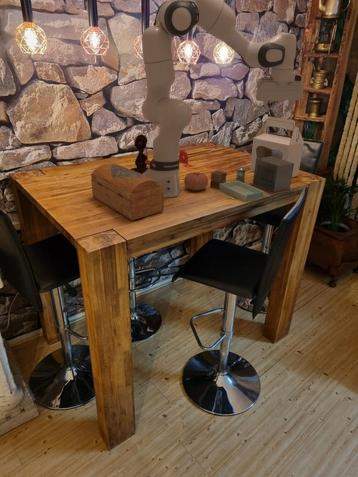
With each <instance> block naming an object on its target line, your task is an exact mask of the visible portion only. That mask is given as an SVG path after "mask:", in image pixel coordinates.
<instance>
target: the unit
mask: <svg viewBox="0 0 358 477" xmlns="http://www.w3.org/2000/svg"><path fill="white" fill-rule="evenodd" d="M293 168H294V163H292V162H288V161H285V160H282V158H279V157H276V156H273V155H272V156H271V157H264V158H256V163H255V171H253V172H254V173H253V181H252V182H250V183H249V185H250V186H252V187H255V188H257V189H259V190H262V191H264V192H265V193H268V194H270V195H272V196H277V195H280V194H285V193H289V192H294V189H293V188H291V185H292V184H291V183H292V179H293V177H292V174H293Z"/></svg>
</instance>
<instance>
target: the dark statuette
mask: <svg viewBox="0 0 358 477" xmlns="http://www.w3.org/2000/svg"><path fill="white" fill-rule="evenodd" d="M133 142H134V144H133V145H134V146H135V148H136V149H137V150H138V152H137V156H136V158H135V162H134V164H135V167H132V168H130V169H131V170H133V171H136V172H138V173H140V174H143V173H144V172H145V171H146V170H147V169H149V166H148V165H147V164H146V163H145V161H146V160H149V155H148V148H147V144H148V138H147V136H146V135H144V134H138V135H137V136H136V137H135V140H134V141H133ZM144 151H145V153H144Z"/></svg>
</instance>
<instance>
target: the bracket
mask: <svg viewBox="0 0 358 477" xmlns="http://www.w3.org/2000/svg"><path fill="white" fill-rule="evenodd" d="M178 159H179V163H182V164H183V165H182V166H183V167H185V168H192V167H194V165H192V164H189V154H188V152H187V151H186V150H181V151H180V150H179V158H178Z"/></svg>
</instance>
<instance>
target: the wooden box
mask: <svg viewBox="0 0 358 477" xmlns="http://www.w3.org/2000/svg"><path fill="white" fill-rule="evenodd" d="M90 176H91V179H90V180H91V182H90V183H91V192H92V193H91V194H92V197H93V198H94V199H95V200H96V201H99V202H100V203H102V204H103V205H106V206H107V207H109V208H110V209H112V210H113V211H116V212H117V213H119V214H120V215H122V216H123V217H125V218H127V219H128V220H130V221H134V220H137V219H140V218H145V217H148V216H151V215H154V214H158V213H162V212H164V209H165V208H164V207H165V206H164V204H165V202H164V193H163V186H162V185H161V184H160V183H158V182H157V181H156V180H154V179H152V178H149V177H147V176H144V175H142V174H140V173H138V172H136V171H133V170H131V168H128V167H125V166H122V165H120V164H117V163H114V162H113V163H111V162H108V163H104V164H101V165H99V166H97V167H96V168H94V169H93V170H92V172H91V175H90Z"/></svg>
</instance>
